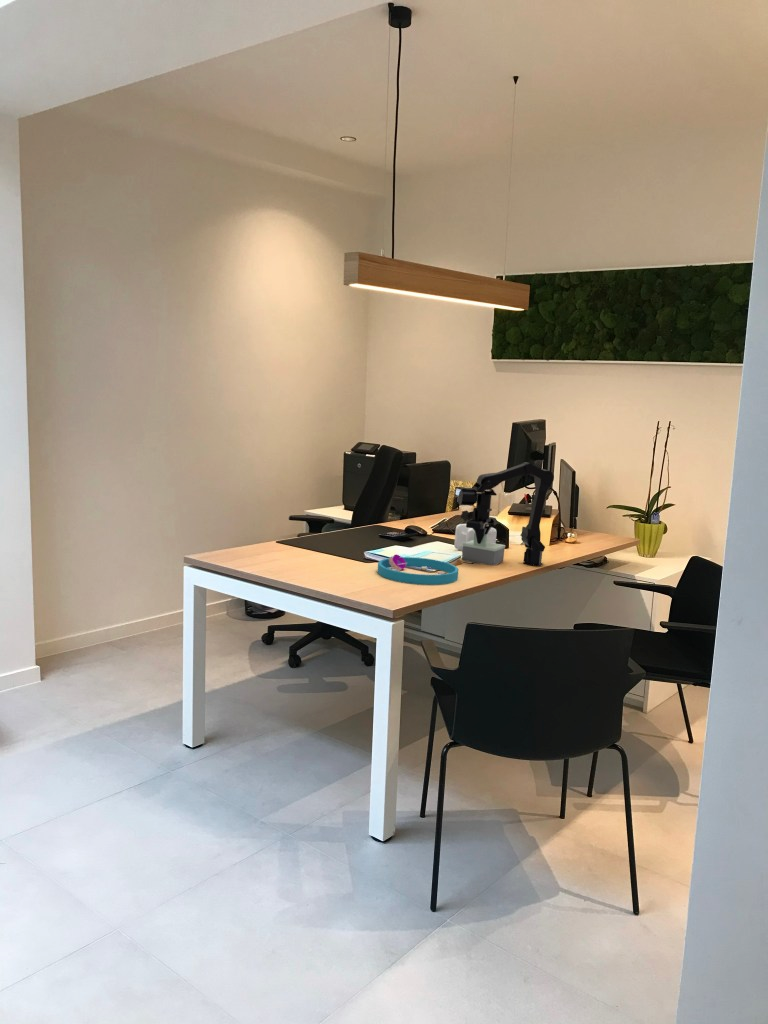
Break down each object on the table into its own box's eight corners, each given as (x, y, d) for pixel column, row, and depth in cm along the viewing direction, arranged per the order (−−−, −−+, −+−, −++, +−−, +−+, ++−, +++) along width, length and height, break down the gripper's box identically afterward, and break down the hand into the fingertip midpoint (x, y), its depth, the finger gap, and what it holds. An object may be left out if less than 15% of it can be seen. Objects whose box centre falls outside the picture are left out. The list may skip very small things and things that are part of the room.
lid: (504, 549, 343) (506, 533, 342) (494, 553, 333) (496, 536, 332) (473, 544, 349) (474, 528, 348) (462, 547, 339) (463, 531, 338)
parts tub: (503, 561, 343) (504, 547, 342) (493, 565, 334) (494, 551, 333) (472, 556, 350) (473, 542, 349) (461, 560, 340) (463, 545, 339)
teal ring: (406, 563, 328) (407, 548, 327) (472, 577, 311) (473, 562, 310) (361, 574, 304) (362, 558, 303) (430, 590, 287) (431, 573, 286)
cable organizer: (481, 549, 368) (483, 523, 366) (495, 554, 359) (498, 527, 357) (453, 550, 360) (455, 524, 359) (467, 555, 351) (469, 528, 350)
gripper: (474, 501, 346) (470, 537, 348) (455, 505, 330) (452, 543, 332) (498, 504, 341) (495, 541, 343) (481, 508, 325) (478, 547, 327)
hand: (479, 543), depth 336 cm, fingers closed on lid
